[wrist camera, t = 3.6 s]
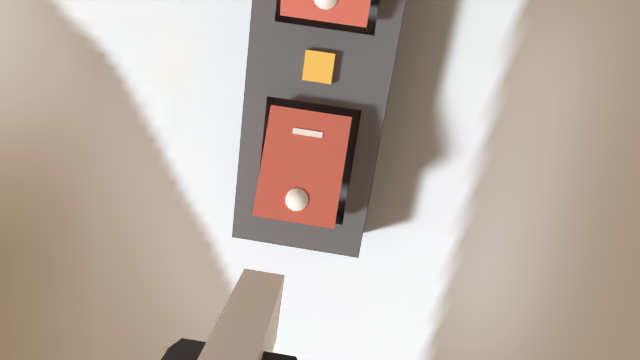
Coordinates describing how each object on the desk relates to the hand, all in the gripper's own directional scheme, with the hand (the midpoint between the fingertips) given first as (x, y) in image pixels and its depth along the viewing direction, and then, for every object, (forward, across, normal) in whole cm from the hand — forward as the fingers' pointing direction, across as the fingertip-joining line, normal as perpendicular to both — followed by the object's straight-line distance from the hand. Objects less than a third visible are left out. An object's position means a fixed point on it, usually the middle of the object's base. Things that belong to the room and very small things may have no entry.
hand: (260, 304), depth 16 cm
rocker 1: (+10, 0, +3) cm, 11 cm away
